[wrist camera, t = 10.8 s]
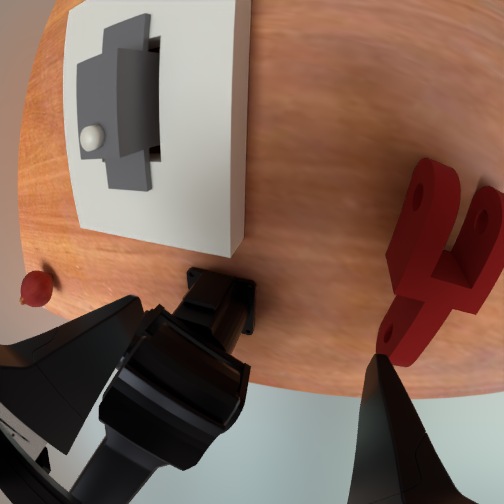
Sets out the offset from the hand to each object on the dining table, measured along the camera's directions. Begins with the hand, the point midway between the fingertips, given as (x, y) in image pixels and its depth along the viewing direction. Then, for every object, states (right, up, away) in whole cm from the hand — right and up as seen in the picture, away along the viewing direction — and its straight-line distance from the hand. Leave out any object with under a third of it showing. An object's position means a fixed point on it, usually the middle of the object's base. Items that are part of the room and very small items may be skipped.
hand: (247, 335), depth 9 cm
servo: (-8, +15, +9) cm, 19 cm away
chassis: (-8, +15, +9) cm, 19 cm away
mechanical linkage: (+14, +2, +9) cm, 17 cm away
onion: (-33, -1, +27) cm, 43 cm away
